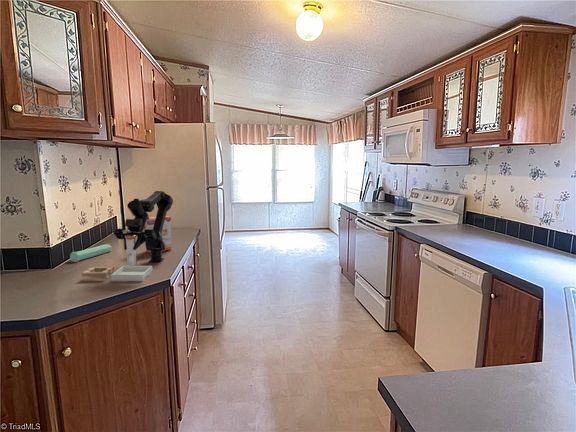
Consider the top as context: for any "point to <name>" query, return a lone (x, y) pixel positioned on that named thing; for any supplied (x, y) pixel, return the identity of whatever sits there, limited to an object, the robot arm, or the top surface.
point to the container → (90, 253)
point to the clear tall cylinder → (131, 249)
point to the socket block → (97, 274)
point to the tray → (132, 273)
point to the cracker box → (165, 231)
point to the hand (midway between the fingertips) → (129, 249)
